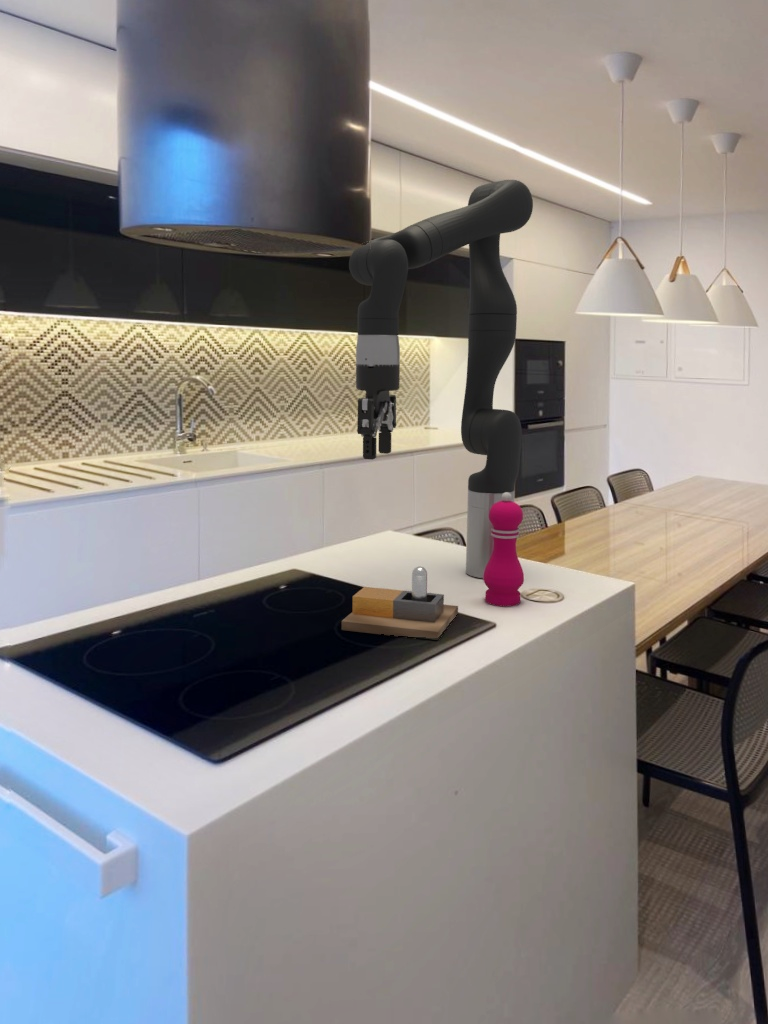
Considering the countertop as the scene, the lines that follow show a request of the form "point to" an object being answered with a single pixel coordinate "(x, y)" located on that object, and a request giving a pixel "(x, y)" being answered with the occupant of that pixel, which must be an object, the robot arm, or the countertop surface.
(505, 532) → the pepper mill
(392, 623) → the board
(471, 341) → the robot arm
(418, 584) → the post
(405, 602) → the link
